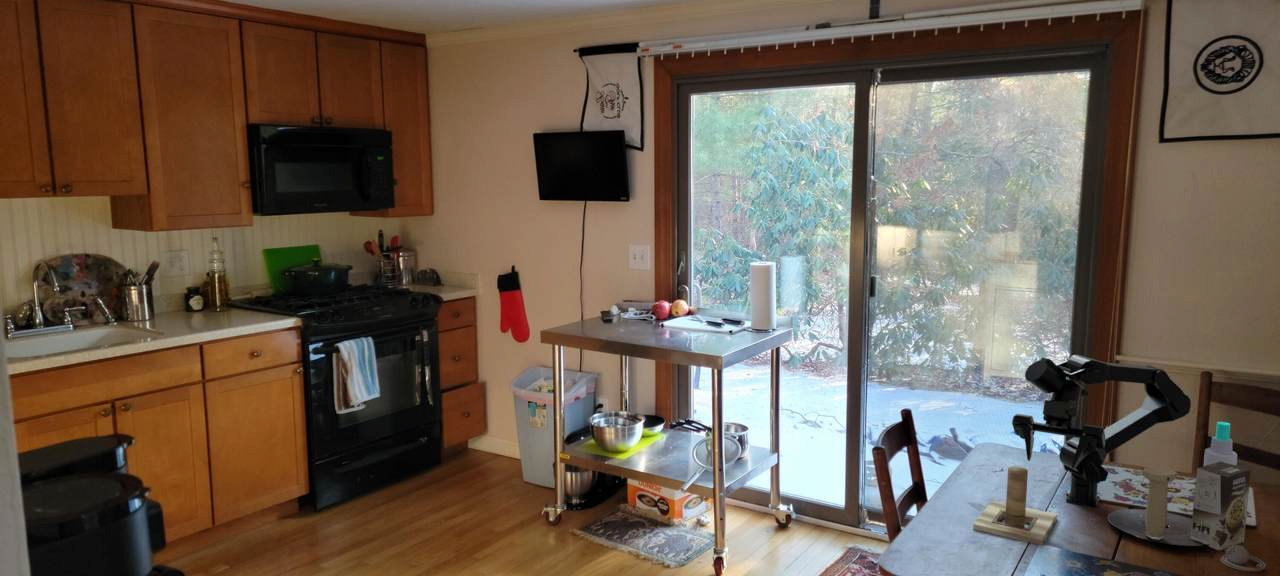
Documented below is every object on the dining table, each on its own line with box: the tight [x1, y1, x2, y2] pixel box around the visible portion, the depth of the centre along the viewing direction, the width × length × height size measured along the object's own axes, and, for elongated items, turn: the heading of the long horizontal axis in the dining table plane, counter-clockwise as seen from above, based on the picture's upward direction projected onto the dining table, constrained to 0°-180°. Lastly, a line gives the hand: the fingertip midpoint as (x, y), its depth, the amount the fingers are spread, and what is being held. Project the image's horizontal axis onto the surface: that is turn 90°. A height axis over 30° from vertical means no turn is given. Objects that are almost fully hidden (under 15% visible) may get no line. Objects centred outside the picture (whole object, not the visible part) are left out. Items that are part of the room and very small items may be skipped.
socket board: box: [972, 500, 1058, 546], centre depth 194 cm, size 16×14×1 cm
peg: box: [1004, 465, 1029, 528], centre depth 192 cm, size 4×4×13 cm
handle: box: [1142, 466, 1178, 537], centre depth 185 cm, size 5×6×15 cm
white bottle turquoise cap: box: [1203, 421, 1238, 466], centre depth 195 cm, size 6×6×22 cm
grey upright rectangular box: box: [1190, 462, 1252, 551], centre depth 183 cm, size 9×6×16 cm
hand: (1050, 463), depth 193 cm, fingers open, 9 cm apart
